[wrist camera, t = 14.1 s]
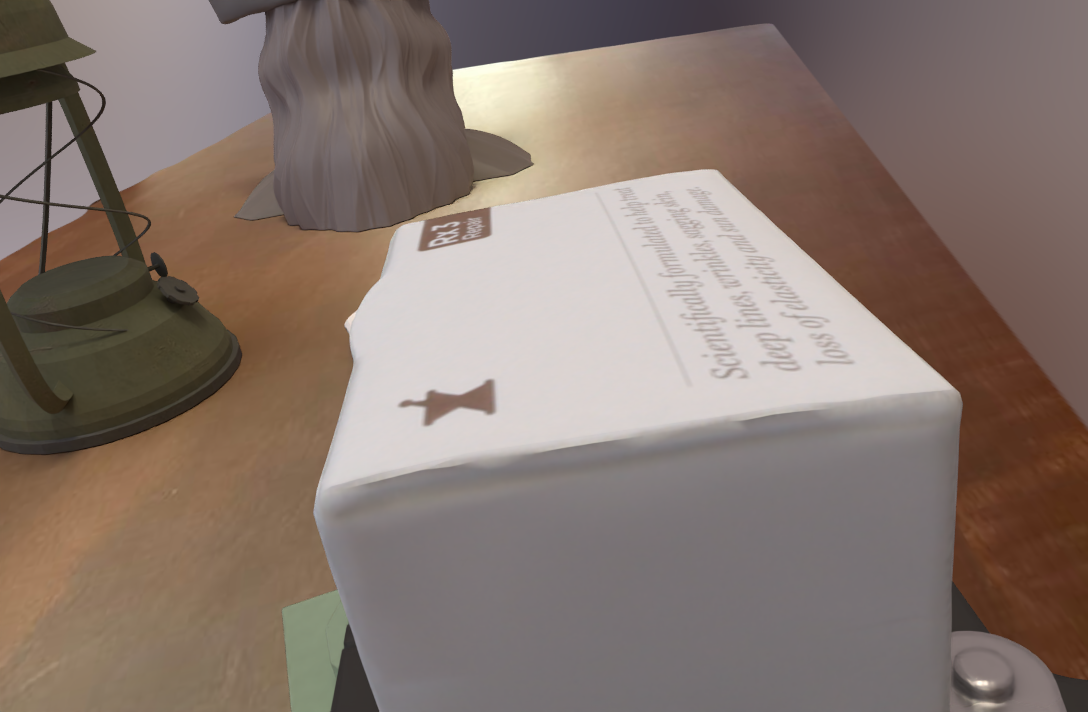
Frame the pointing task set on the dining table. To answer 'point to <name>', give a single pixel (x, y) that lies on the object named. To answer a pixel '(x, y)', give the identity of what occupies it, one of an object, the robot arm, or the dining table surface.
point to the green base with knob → (314, 650)
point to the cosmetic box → (637, 469)
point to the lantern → (92, 290)
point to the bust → (363, 114)
